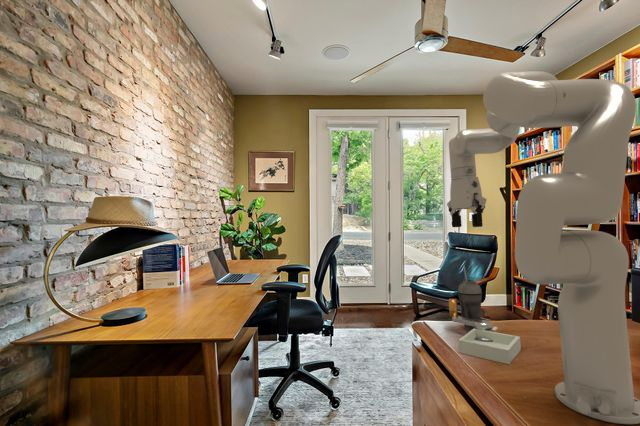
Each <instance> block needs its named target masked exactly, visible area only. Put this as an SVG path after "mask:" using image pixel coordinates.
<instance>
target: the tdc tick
mask: <svg viewBox="0 0 640 426" xmlns="http://www.w3.org/2000/svg"><path fill="white" fill-rule="evenodd" d="M492 327H493V329H492V330H490V331H492V332H496V331H497V330H498V328H499V327H497V326H492Z"/></svg>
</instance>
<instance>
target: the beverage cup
mask: <svg viewBox="0 0 640 426" xmlns="http://www.w3.org/2000/svg"><path fill="white" fill-rule="evenodd" d="M462 269H463V273H464V278H465V280H462V281H461V282H460V283H459V285H458V287H457V294H458V298H459V304H460V309H461V317H465V318H470V319H475V320H482V318H481V317H482V298H483V292H482V288H481V286H480V285H479V284H478V282H476V281H474V280H472V279H468V276H467V272H466V266H462ZM463 326H464V330H465V329H466V331H467V332H468V331H471V330H472V329H475V328H474V327H473V326H470V325H465V324H463Z"/></svg>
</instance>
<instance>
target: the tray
mask: <svg viewBox="0 0 640 426" xmlns="http://www.w3.org/2000/svg"><path fill="white" fill-rule="evenodd" d="M467 332H468V331H467ZM467 332H466V333H467ZM466 333H465V334H464V335H463V336H462V337H460V338H459V339H458V349H459V350H458V352H459V354H460V353H461V354H463V355H468V356H471V357H472V356H473V357H476V358H480V359H485V360H488V361H492V362H497V363H501V364H506V365H511V363H512V361H513V360H514V359H515V358H516V357H517V356H518V354H519V353H520V352H521V350H522V345H521V344H522V343H521V336H518V335H513V334H508V333H507V334H506V333H502V332H501V333H500V332H496V331H492V332H491V330H489V331H485V330H478V329H472V330H471V331H470V332H468V333H467V334H466ZM476 337H478V338H483V339H488V340H493V342H483V341H477V340H475V338H476Z"/></svg>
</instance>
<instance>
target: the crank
mask: <svg viewBox="0 0 640 426" xmlns="http://www.w3.org/2000/svg"><path fill="white" fill-rule="evenodd" d="M448 306H449V307H448V309H449V317H451V322H453V323H458V324H462V325H464V324H465V325H470V326H473V327H474V328H475V329H478V330H489V331H491V330H492V329H493V327H494V326H493V322H492V321H491V320H488V319H481V320H475V319H470V318H465V317H463V316H459V313H458V312H459V311H458V299H457V298H449V299H448Z"/></svg>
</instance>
